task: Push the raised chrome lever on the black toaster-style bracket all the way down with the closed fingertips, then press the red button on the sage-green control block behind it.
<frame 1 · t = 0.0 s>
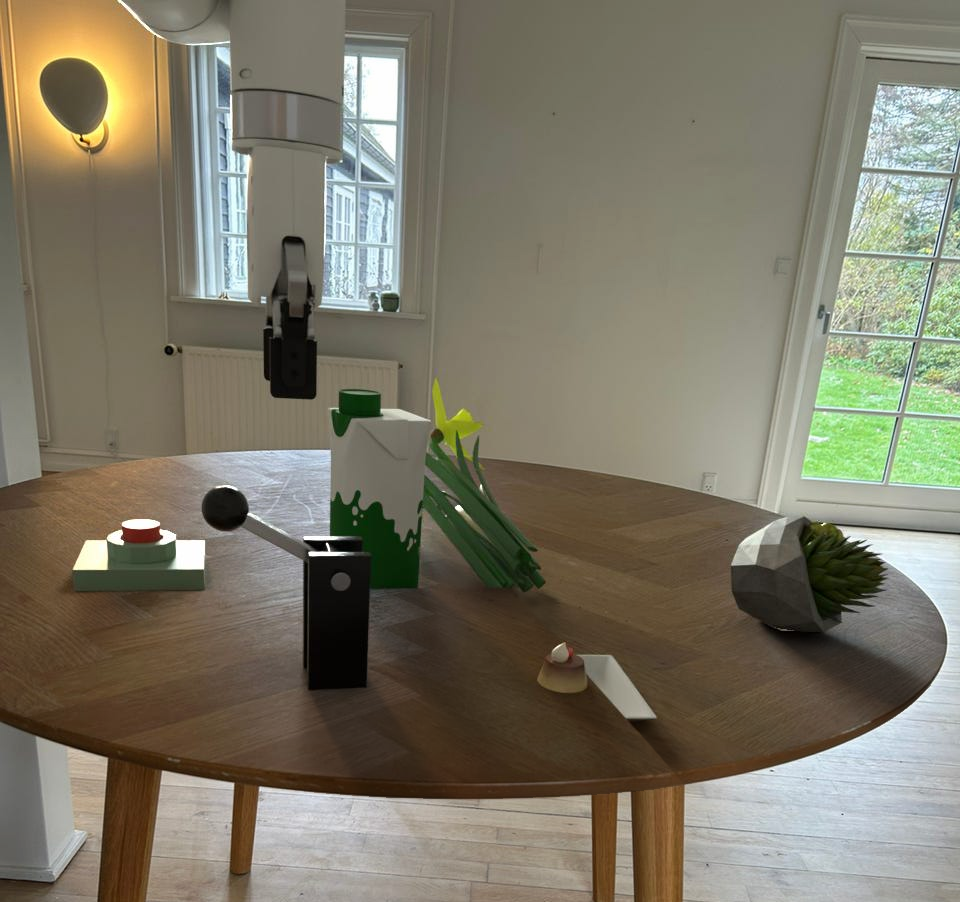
hand: (288, 389, 67), 22 cm above the table, tool pointing down, fingers open, 9 cm apart
lever: (281, 539, 64), point 12 cm above the table, hinge at 30.0°
daffodil flowers: (464, 555, 107), on the table
bracket: (333, 690, 69), on the table
button: (141, 532, 89), point 4 cm above the table, slide at 0.1 cm
dessert: (560, 698, 72), on the table
milk carton: (373, 589, 93), on the table
potted plant: (795, 629, 92), on the table
control block: (144, 574, 91), on the table
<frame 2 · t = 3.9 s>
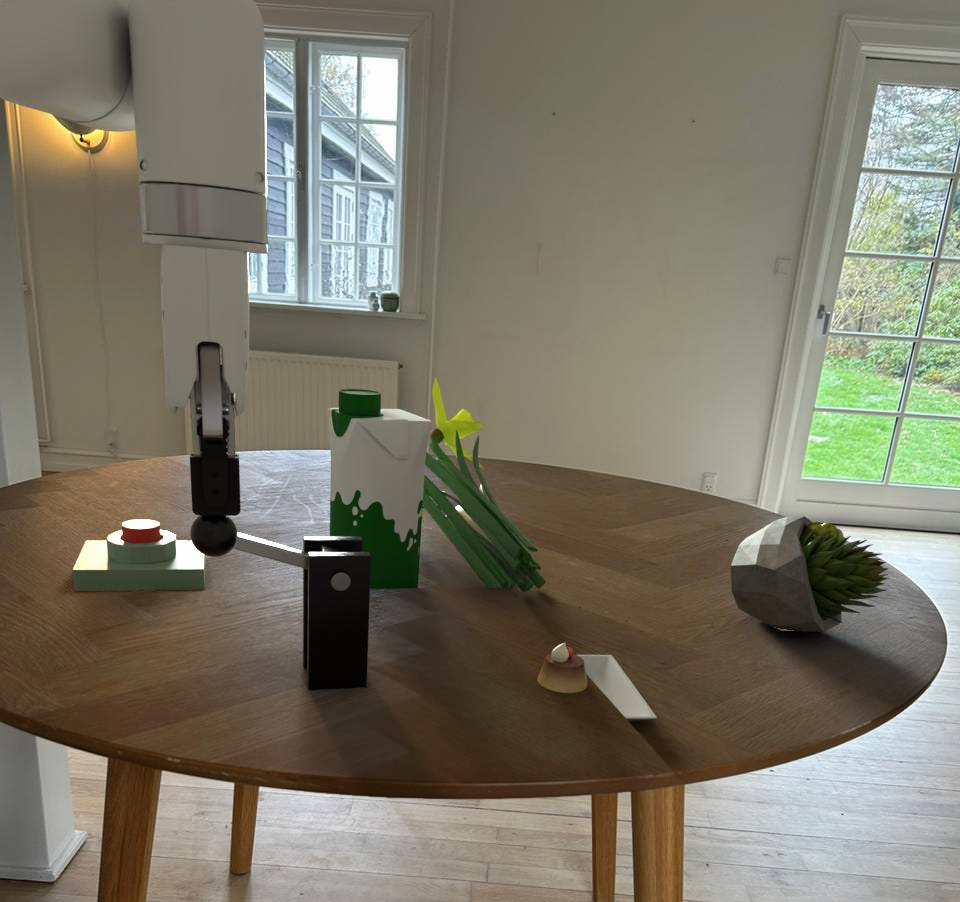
hand: (216, 511, 62), 14 cm above the table, tool pointing down, fingers closed
lever: (275, 551, 64), point 11 cm above the table, hinge at 17.0°, touching gripper
everything else where it was.
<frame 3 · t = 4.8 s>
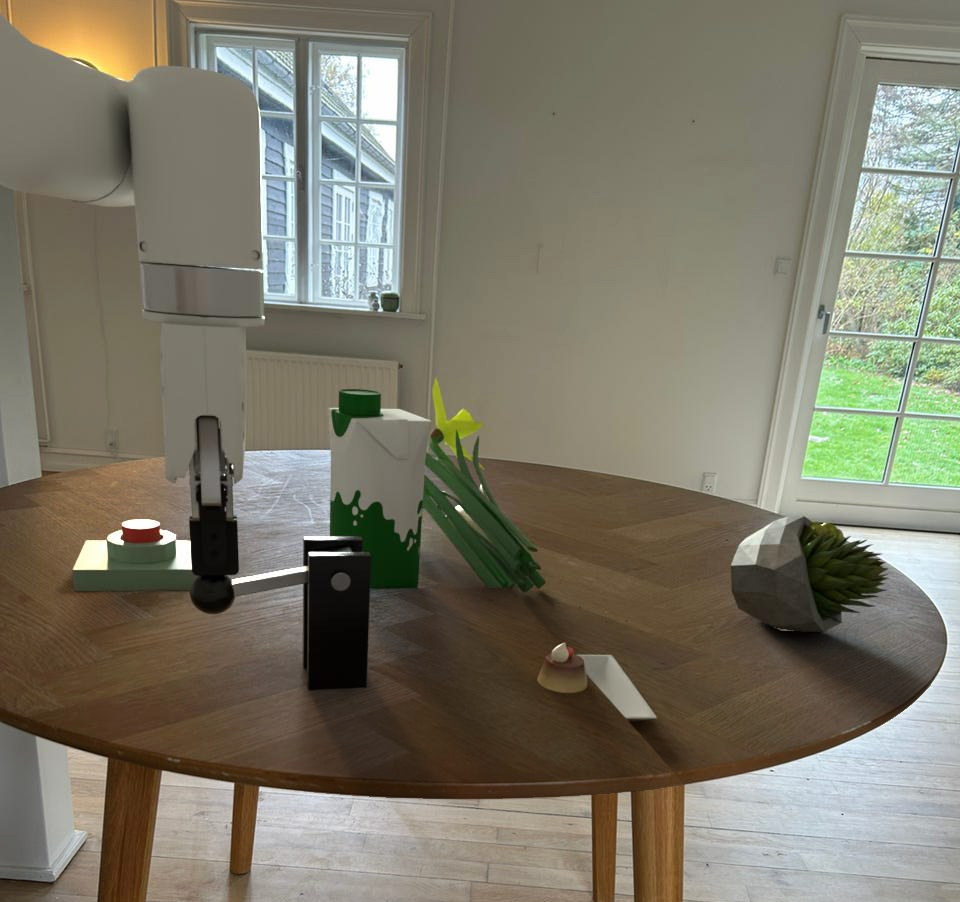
hand: (215, 571, 63), 10 cm above the table, tool pointing down, fingers closed
lever: (273, 580, 65), point 9 cm above the table, hinge at -11.0°, touching gripper
everything else where it was.
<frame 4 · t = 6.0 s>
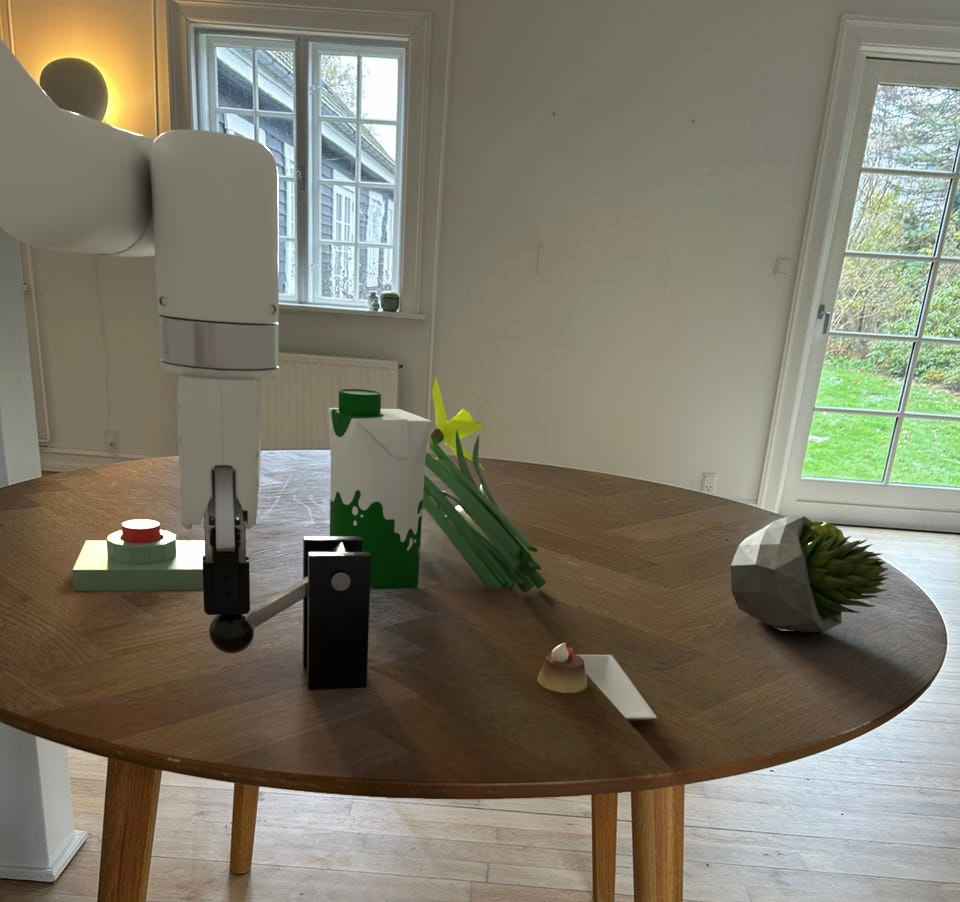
hand: (227, 610, 65), 7 cm above the table, tool pointing down, fingers closed
lever: (282, 601, 65), point 8 cm above the table, hinge at -32.5°
everything else where it was.
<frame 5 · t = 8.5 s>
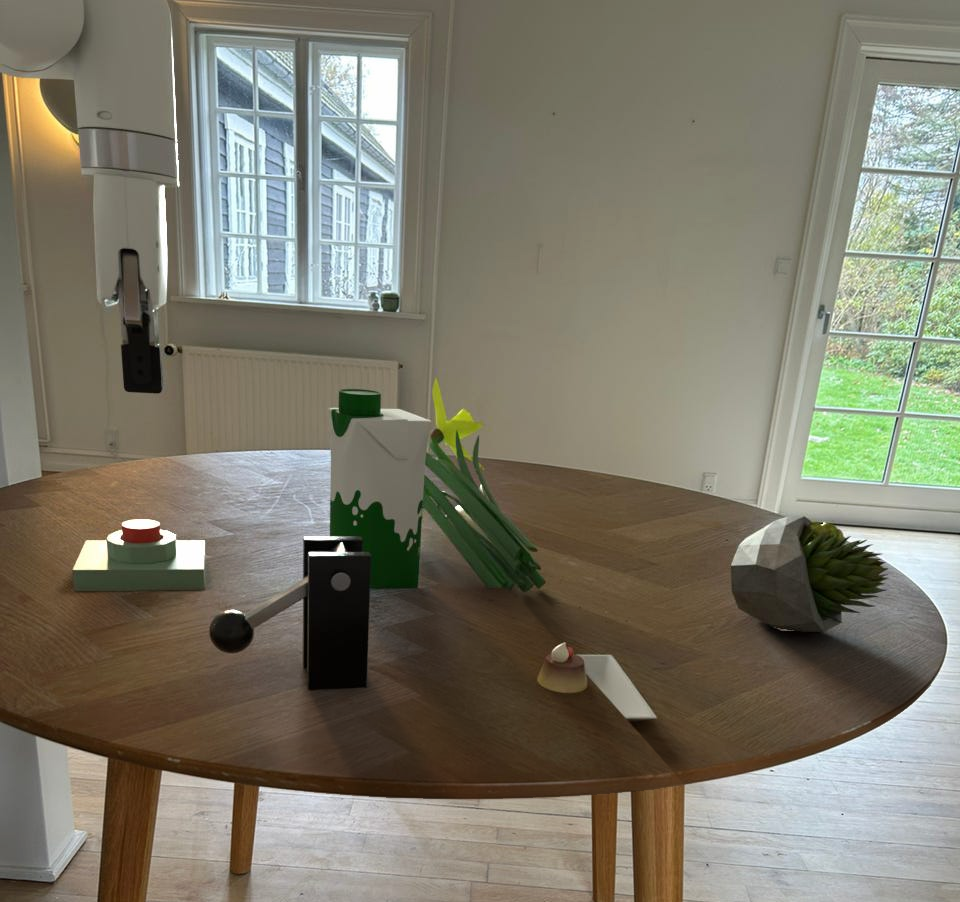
hand: (144, 391, 79), 19 cm above the table, tool pointing down, fingers closed
nothing on the table moved.
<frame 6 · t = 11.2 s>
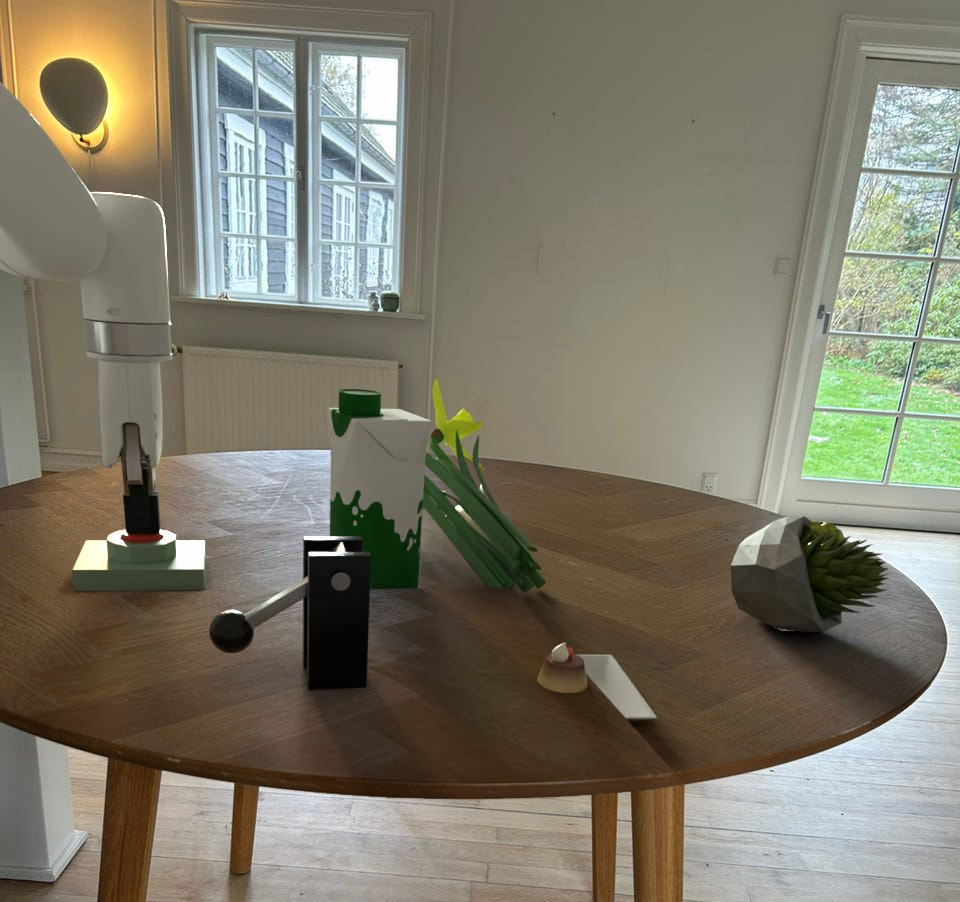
hand: (143, 531, 89), 5 cm above the table, tool pointing down, fingers closed
button: (141, 540, 89), point 4 cm above the table, slide at -0.8 cm, touching gripper
everything else where it was.
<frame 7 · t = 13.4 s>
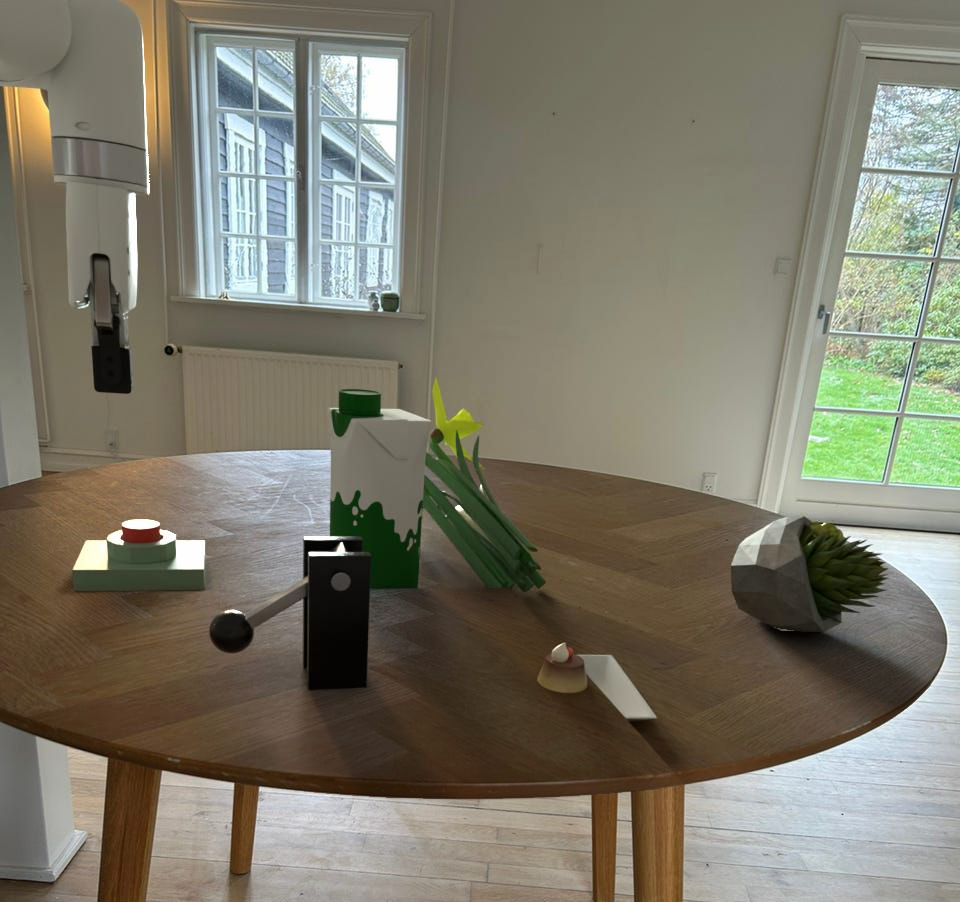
hand: (113, 391, 82), 18 cm above the table, tool pointing down, fingers closed
button: (141, 532, 89), point 4 cm above the table, slide at 0.1 cm
everything else where it was.
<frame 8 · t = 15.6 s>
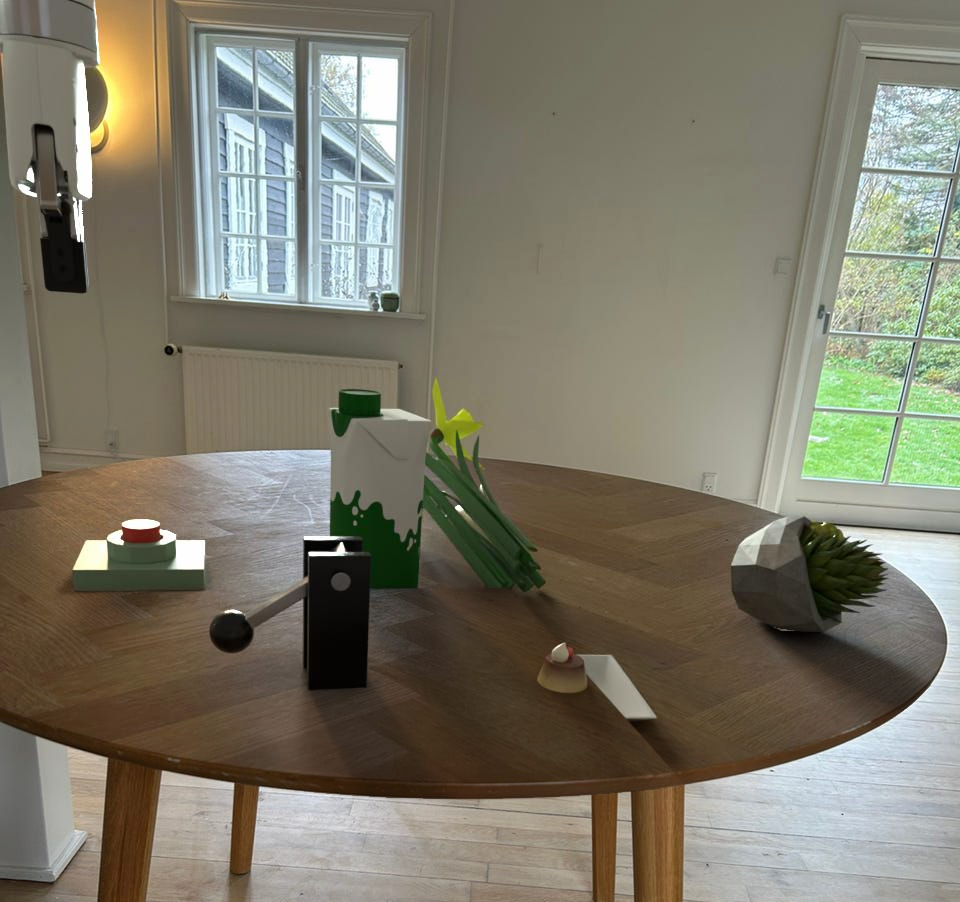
hand: (67, 291, 74), 27 cm above the table, tool pointing down, fingers closed
nothing on the table moved.
at the end: lever at -32° (first picture: +30°); button pushed in 1.1 cm at the most during the clip, back to where it started at the end; button slide at 0.1 cm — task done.
